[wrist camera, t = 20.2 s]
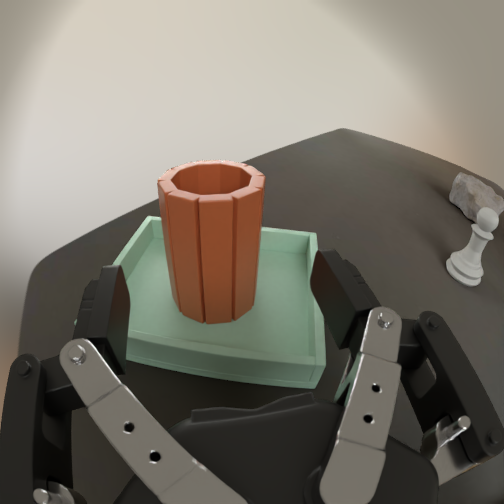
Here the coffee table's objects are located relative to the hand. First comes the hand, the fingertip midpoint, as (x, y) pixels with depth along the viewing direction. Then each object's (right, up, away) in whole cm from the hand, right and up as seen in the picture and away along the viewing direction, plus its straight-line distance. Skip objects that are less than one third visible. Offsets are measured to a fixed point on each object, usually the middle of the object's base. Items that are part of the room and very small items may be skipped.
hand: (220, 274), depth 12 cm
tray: (-2, -3, +10) cm, 11 cm away
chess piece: (+24, -2, +15) cm, 28 cm away
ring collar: (-2, -2, +10) cm, 10 cm away
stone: (+37, +7, +27) cm, 46 cm away
